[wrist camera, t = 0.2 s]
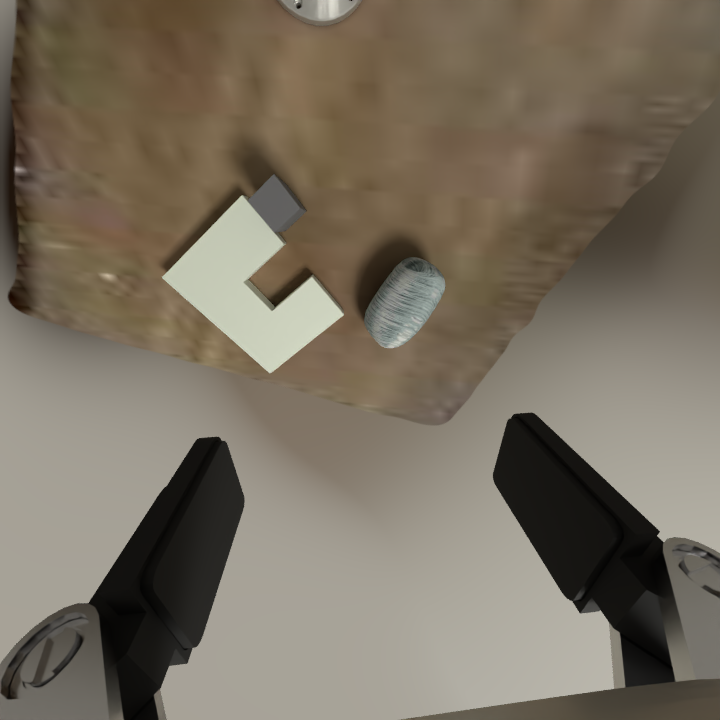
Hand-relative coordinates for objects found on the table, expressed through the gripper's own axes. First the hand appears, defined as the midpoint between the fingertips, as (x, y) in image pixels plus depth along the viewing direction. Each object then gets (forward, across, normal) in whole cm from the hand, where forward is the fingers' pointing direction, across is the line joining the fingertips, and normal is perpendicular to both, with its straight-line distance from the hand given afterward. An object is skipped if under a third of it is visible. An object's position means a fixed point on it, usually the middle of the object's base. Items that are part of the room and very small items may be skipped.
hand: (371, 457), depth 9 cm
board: (+36, +12, +2) cm, 39 cm away
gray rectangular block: (+36, +7, -9) cm, 38 cm away
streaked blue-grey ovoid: (+37, -9, +4) cm, 38 cm away
